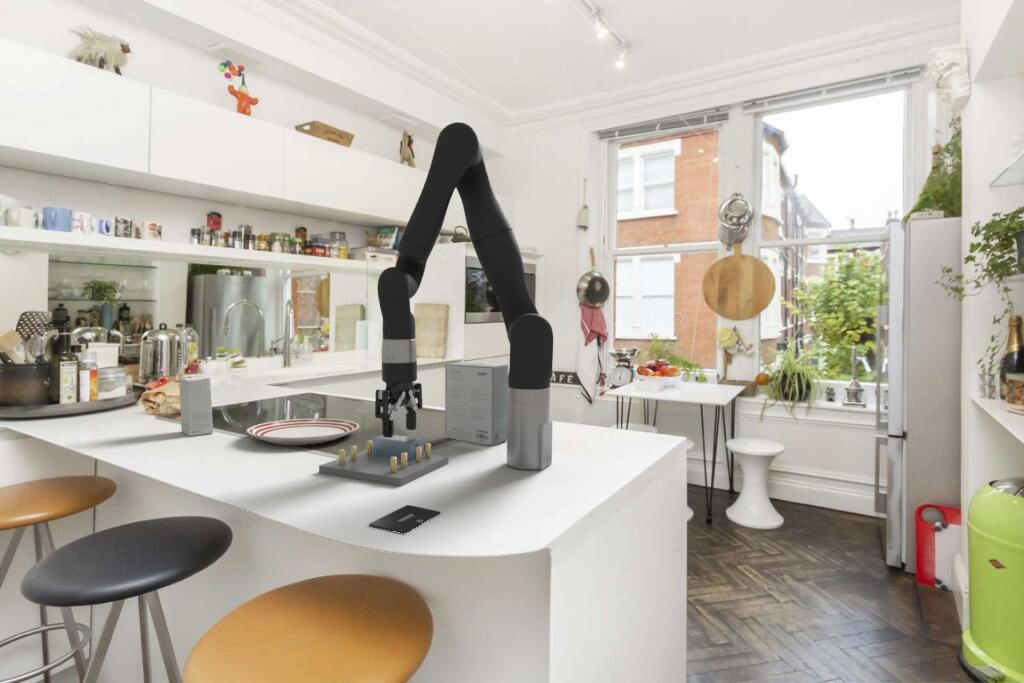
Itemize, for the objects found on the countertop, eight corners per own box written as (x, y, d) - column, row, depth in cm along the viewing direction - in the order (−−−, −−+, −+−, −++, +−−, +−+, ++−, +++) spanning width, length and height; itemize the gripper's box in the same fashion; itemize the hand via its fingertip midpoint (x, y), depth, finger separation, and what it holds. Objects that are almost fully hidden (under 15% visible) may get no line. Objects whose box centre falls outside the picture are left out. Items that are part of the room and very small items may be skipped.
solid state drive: (441, 515, 92) (441, 511, 92) (404, 537, 83) (404, 532, 83) (407, 508, 95) (407, 504, 95) (368, 528, 86) (368, 524, 86)
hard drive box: (508, 441, 144) (509, 364, 143) (492, 447, 138) (493, 367, 137) (461, 433, 153) (462, 361, 152) (443, 438, 146) (444, 363, 145)
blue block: (424, 456, 122) (424, 437, 122) (411, 461, 118) (411, 442, 117) (386, 450, 126) (386, 433, 126) (372, 456, 122) (372, 437, 121)
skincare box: (213, 433, 147) (212, 378, 146) (187, 437, 143) (187, 379, 142) (204, 428, 153) (203, 375, 152) (179, 431, 149) (178, 376, 148)
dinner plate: (284, 425, 160) (284, 414, 160) (374, 429, 157) (374, 418, 156) (222, 448, 133) (221, 434, 133) (329, 453, 129) (329, 439, 129)
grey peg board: (448, 463, 122) (448, 443, 122) (400, 486, 106) (401, 463, 105) (374, 453, 130) (374, 433, 130) (319, 472, 114) (319, 451, 113)
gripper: (394, 363, 113) (395, 441, 114) (431, 357, 126) (432, 428, 127) (364, 361, 116) (365, 438, 117) (404, 356, 129) (404, 425, 130)
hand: (400, 433), depth 122 cm, fingers open, 8 cm apart
